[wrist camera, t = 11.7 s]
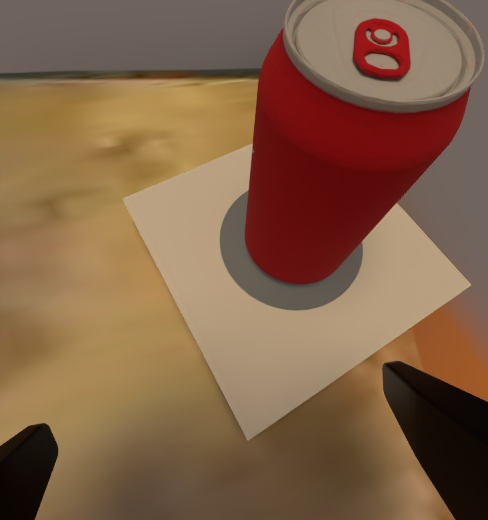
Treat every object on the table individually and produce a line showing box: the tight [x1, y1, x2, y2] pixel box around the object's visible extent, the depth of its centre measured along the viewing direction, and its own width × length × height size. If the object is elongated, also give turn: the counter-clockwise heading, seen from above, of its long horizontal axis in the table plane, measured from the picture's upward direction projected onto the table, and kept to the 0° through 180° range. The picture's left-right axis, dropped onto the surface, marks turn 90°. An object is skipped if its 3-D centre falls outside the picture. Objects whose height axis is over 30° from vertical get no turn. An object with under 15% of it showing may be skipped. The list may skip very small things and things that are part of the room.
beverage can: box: [245, 0, 485, 284], centre depth 13 cm, size 6×6×12 cm
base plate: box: [122, 143, 471, 441], centre depth 20 cm, size 16×16×3 cm
